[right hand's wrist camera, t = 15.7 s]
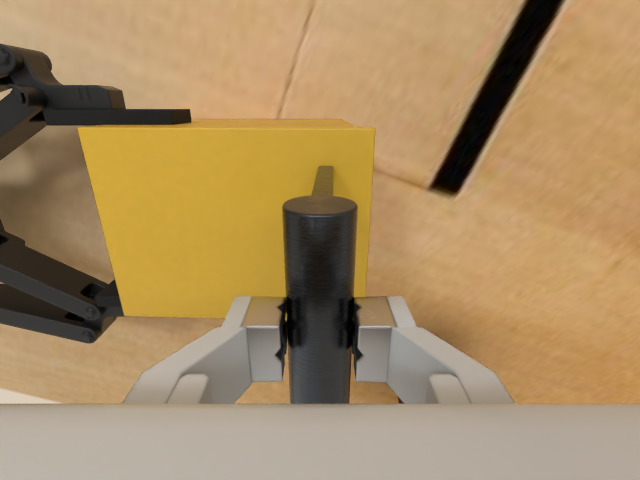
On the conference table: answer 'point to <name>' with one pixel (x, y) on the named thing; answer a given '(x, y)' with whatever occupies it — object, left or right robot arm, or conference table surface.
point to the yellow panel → (242, 229)
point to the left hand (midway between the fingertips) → (195, 212)
